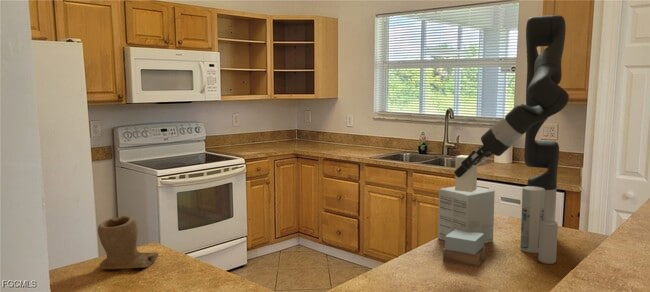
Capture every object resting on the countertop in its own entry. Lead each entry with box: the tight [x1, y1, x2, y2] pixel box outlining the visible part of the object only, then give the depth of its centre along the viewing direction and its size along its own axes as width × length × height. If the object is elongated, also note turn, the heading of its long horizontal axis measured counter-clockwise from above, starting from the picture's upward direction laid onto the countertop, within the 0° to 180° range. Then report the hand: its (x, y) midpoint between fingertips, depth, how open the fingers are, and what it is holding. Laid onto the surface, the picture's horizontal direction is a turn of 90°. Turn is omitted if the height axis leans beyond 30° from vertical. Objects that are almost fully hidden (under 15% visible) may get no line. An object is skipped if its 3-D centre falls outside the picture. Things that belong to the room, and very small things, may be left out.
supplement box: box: [437, 185, 496, 244], centre depth 171 cm, size 13×13×18 cm
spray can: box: [519, 185, 545, 254], centre depth 160 cm, size 6×6×20 cm
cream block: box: [454, 154, 478, 192], centre depth 150 cm, size 5×5×10 cm
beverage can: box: [537, 220, 559, 265], centre depth 150 cm, size 5×5×12 cm
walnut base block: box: [442, 245, 487, 268], centre depth 153 cm, size 10×10×4 cm
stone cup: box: [97, 215, 159, 270], centre depth 147 cm, size 15×12×15 cm
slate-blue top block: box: [444, 229, 485, 255], centre depth 152 cm, size 9×9×4 cm
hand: (460, 173), depth 151 cm, fingers closed on cream block, 5 cm apart
